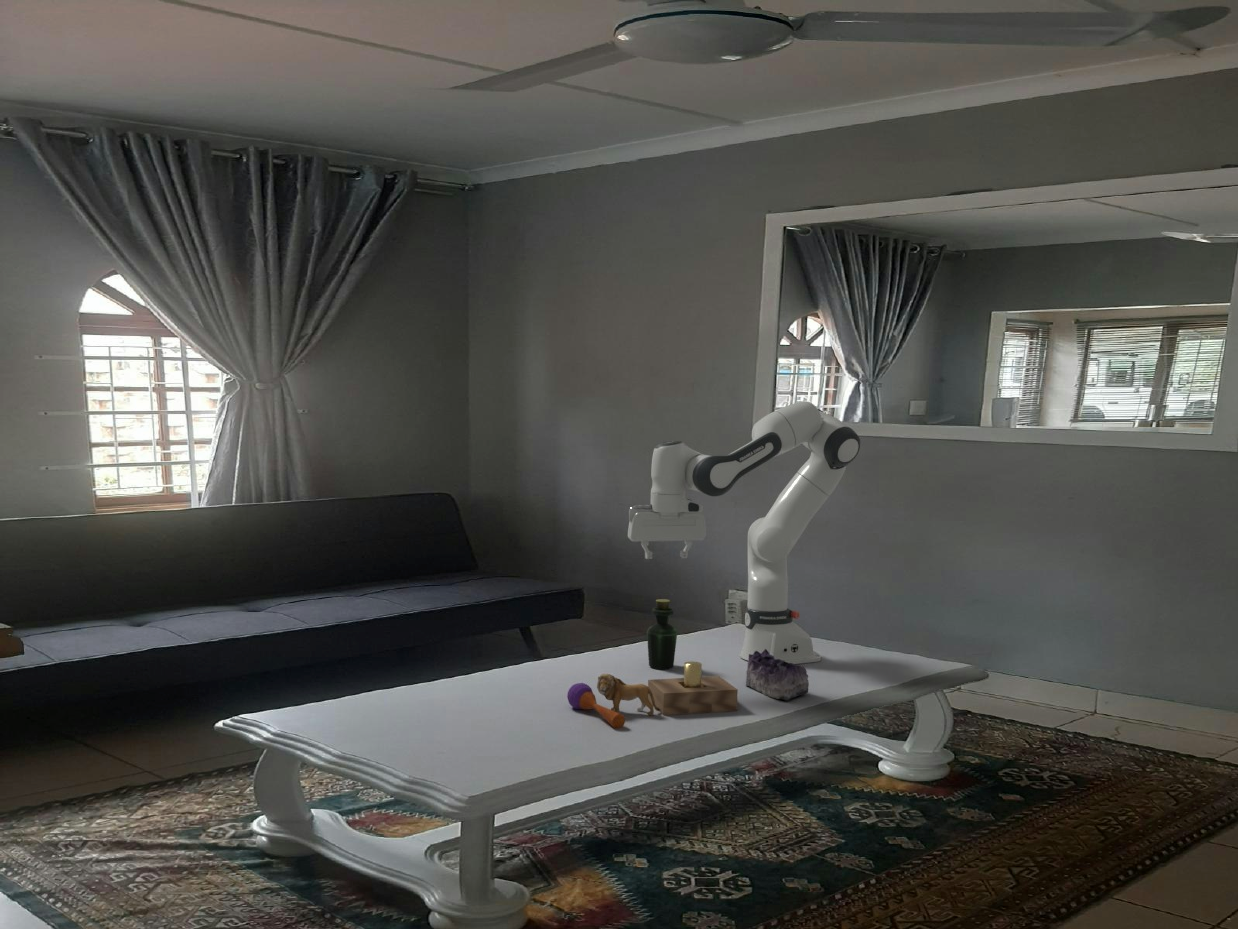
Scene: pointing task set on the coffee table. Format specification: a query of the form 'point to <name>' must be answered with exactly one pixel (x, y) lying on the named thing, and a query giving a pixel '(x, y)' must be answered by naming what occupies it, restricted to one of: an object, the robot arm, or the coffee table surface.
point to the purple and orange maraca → (592, 704)
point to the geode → (776, 676)
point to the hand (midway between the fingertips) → (666, 558)
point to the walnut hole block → (693, 696)
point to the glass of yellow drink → (692, 675)
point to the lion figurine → (624, 692)
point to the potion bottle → (661, 638)
